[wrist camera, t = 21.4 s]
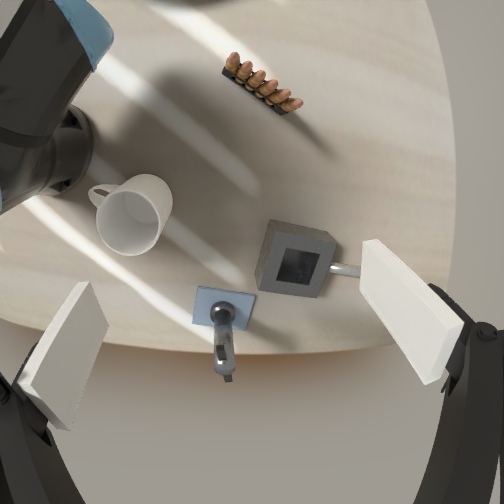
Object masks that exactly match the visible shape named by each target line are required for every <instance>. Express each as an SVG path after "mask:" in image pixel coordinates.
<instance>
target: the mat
mask: <svg viewBox="0 0 504 504" xmlns="http://www.w3.org/2000/svg"><path fill="white" fill-rule="evenodd" d="M254 299H255V295H253V294H246V293H240V292H233V291H226V290H220V289H213V288H207V287H201V286H198V291H197V297H196V303H195V309H194V315H193V321H192V324H198V325H205V326H212V327H214V323H213V322H212V320H211V318H210V309H211V307H212V305H213V304H214V303H216V302H219V301H226V302H229V303H231V304H232V305H233V306H234V309H235V319H234V321H233V322H232V329H234V330H243V331H245V329H246V325H247V322H248V319H249V315H250V312H251V309H252V305H253V302H254Z"/></svg>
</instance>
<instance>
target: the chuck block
mask: <svg viewBox="0 0 504 504" xmlns="http://www.w3.org/2000/svg"><path fill="white" fill-rule="evenodd" d="M336 247H337V242H336V241H335V240H334V239H333V238H332V237H331V236H330V235H329V233H328V232H326V231H322V230H317V229H313V228H308V227H303V226H299V225H294V224H289V223H284V222H280V221H275V220H270V221H269V224H268V228H267V232H266V235H265V239H264V243H263V246H262V250H261V253H260V257H259V261H258V264H257V268H256V271H255V278H256V283H257V287H258V290H259V291H266V292H273V293H280V294H287V295H295V296H303V297H310V298H317V296H318V294H319V291H320V289H321V286H322V284H323V281H324V279H325V276H326V273H327V272H330V273H336V274H342V275H349V276H355V277H360V276H361V267H358V266H352V265H347V264H341V263H336V262H331V260H332V258H333V255H334V252H335V250H336Z"/></svg>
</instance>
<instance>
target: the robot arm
mask: <svg viewBox="0 0 504 504" xmlns="http://www.w3.org/2000/svg"><path fill="white" fill-rule="evenodd" d="M113 40H114V33H113V30H112V28H111V26H110V25H109V23H108V22H107V21H106V20H105V19H104V17H103V16H102V15H101V14H100V13H99V12H98V11H97V10H96V9H95V8H94V7H93V6H92V5H91V4H89V3H88V2H87V1H86V0H0V215H2V214H3V213H5V212H6V211H8V210H10V209H11V208H13V207H15V206H16V205H18V204H20V203H22V202H23V201H25V200H27V199H29V198H31V197H32V196H34V195H41V196H53V195H58V194H61V193H63V192H65V191H67V190H68V189H70V188H72V187H73V186H75V185H76V184H77V183H78V182H79V181H80V180H81V178H82V177H83V176H84V174H85V172H86V170H87V168H88V166H89V163H90V160H91V156H92V150H93V138H92V132H91V128H90V125H89V123H88V120H87V119H86V117H85V115H84V114H83V113H82V112H81V111H80V110H79V109H78V108H77V107H75V106H74V105H72V104H71V102H72V100H73V99H74V97H75V96H76V94H77V93H78V91H79V90H80V88H81V87H82V86H83V84H84V83H85V81H86V80H87V78H88V77H89V76H90V74H91V73H92V72H93V73H94V71H95V70H96V68H97V64H98V63H99V62H100V60H101V59H102V58H103V56H104V55H105V53H106V52H107V51H108V50H109V48H110V47H111V45H112V43H113ZM359 290H360V292H361V293H362V295H363V296H364V297H365V299H366V300H367V301H368V303H369V304H370V306H371V307H372V308H373V310H374V311H375V312H376V314H377V315H378V317H379V318H380V320H381V321H382V322H383V324H384V325H385V327H386V328H387V329H388V331H389V332H390V334H391V335H392V337H393V338H394V340H395V341H396V343H397V344H398V345H399V347H400V348H401V350H402V351H403V353H404V354H405V356H406V357H407V359H408V360H409V362H410V363H411V365H412V366H413V368H414V369H415V371H416V373H417V374H418V376H419V377H420V379H421V380H422V382H423V383H424V385H426V384H429V383H431V382H433V381H436V380H438V379H440V378H441V376H442V373H443V372H444V369H445V368H446V369H447V370H448V372H449V373H450V374H449V376H448V378H447V380H446V382H445V384H444V386H443V388H442V390H441V393H443V392H444V390H445V388H446V390H445V396H444V401H443V406H442V411H441V416H440V421H439V425H438V429H437V433H436V437H435V441H434V445H433V448H432V452H431V455H430V458H429V462H428V465H427V468H426V471H425V474H424V477H423V480H422V483H421V485H420V488H419V491H418V493H417V496H416V499H415V501H414V503H413V504H489V502H490V498H491V493H492V489H493V485H494V480H495V475H496V470H497V464H498V457H500V504H504V330H499V331H498V330H497V329H496V328H495V327H494V326H492V325H491V324H489V323H486V322H477V323H475V322H474V321H473V320H472V319H471V318H470V317H469V316H468V315H467V313H466V312H465V311H464V310H463V309H461V307H460V306H459V305H457V303H455V302H454V301H453V300H452V299H451V298H450V297H449V296H448V295H447V294H446V293H445V292H444V291H443V290H442V289H441V288H439V287H437V286H435V285H433V284H431V283H430V284H426V283H425V282H424V281H423V280H422V279H420V278H419V277H418V276H417V275H416V274H415V273H414V272H413V271H412V270H411V269H410V268H409V267H408V266H407V265H405V264H404V263H403V262H402V261H401V260H400V259H399V258H398V257H397V256H396V255H394V254H393V253H392V252H391V251H390V250H389V249H388V248H387V247H385V246H384V245H383V244H382V243H381V242H380V241H379V240H377V239H374V240H367V241H363V250H362V264H361V276H360V287H359ZM108 327H109V325H108V323H107V321H106V318H105V316H104V314H103V312H102V309H101V307H100V305H99V303H98V300H97V298H96V295H95V293H94V291H93V288H92V286H91V283H90V281H87V282H80V283H77V284H76V286H75V287H74V288H73V290H72V291H71V293H70V294H69V296H68V297H67V299H66V300H65V302H64V303H63V305H62V306H61V308H60V309H59V311H58V312H57V314H56V315H55V317H54V318H53V320H52V321H51V323H50V325H49V326H48V328H47V329H46V331H45V333H44V334H43V336H42V338H41V339H40V340H39V341H38V342H37V343H36V344H35V345H34V346H33V347H32V349H31V350H30V352H29V354H28V357H26V359H25V361H24V364H22V366H21V368H20V370H19V372H18V373H17V375H16V377H15V379H14V381H13V383H12V385H11V386H10V384H9V383H8V382H7V380H6V379H5V378H4V376H3V375H2V374H1V372H0V504H85V502H84V500H83V498H82V497H81V495H80V493H79V491H78V489H77V488H76V486H75V484H74V482H73V480H72V479H71V476H70V474H69V472H68V470H67V468H66V466H65V464H64V462H63V459H62V457H61V455H60V453H59V450H58V448H57V446H56V443H55V441H54V438H53V436H52V433H51V431H50V430H49V428H48V427H47V423H48V420H49V421H50V422H51V423H52V424H53V425H54V427H56V429H61V430H67V431H71V429H72V426H73V422H74V419H75V416H76V413H77V410H78V407H79V404H80V401H81V398H82V395H83V392H84V389H85V386H86V383H87V380H88V378H89V375H90V372H91V369H92V367H93V364H94V361H95V359H96V356H97V353H98V351H99V349H100V346H101V344H102V341H103V339H104V336H105V334H106V332H107V329H108Z"/></svg>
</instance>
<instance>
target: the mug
mask: <svg viewBox="0 0 504 504" xmlns="http://www.w3.org/2000/svg"><path fill="white" fill-rule="evenodd" d="M94 189H102V190H105V191H107V192H109V194H108V195H107V196H106V197H105V196H102V195H99V194H97V193H95V192H94V191H93V190H94ZM88 195H89V198H90V200H91V202H92V203H93V204H94V205H95V206H96V207H97V208H98V209H97V212H96V227H97V231H98V234H99V236H100V238H101V239H102V241H103V242H104V243H105V244H106V245H107V246H108V247H109V248H110V249H111V250H113V251H114V252H116V253H119V254H121V255H126V256H136V255H140V254H143V253H145V252H147V251H149V250H150V249H151V248H152V247H153V246H154V245H155V244H156V242H157V240H158V238H159V236H160V234H161V232H162V230H163V228H164V226H165V224H166V222H167V220H168V218H169V216H170V213H171V210H172V206H173V198H172V193H171V191H170V188H169V187H168V185H167V184H166V183H165V182H164V181H163V180H162V179H161V178H159V177H157V176H155V175H151V174H140V175H136V176H134V177H132V178H130V179H129V180H127V181H126V182H125V183H123V184H122V185H120V186H119V185H114V184H101V185H96V186H94V187H92V188H90V189H89V192H88Z"/></svg>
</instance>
